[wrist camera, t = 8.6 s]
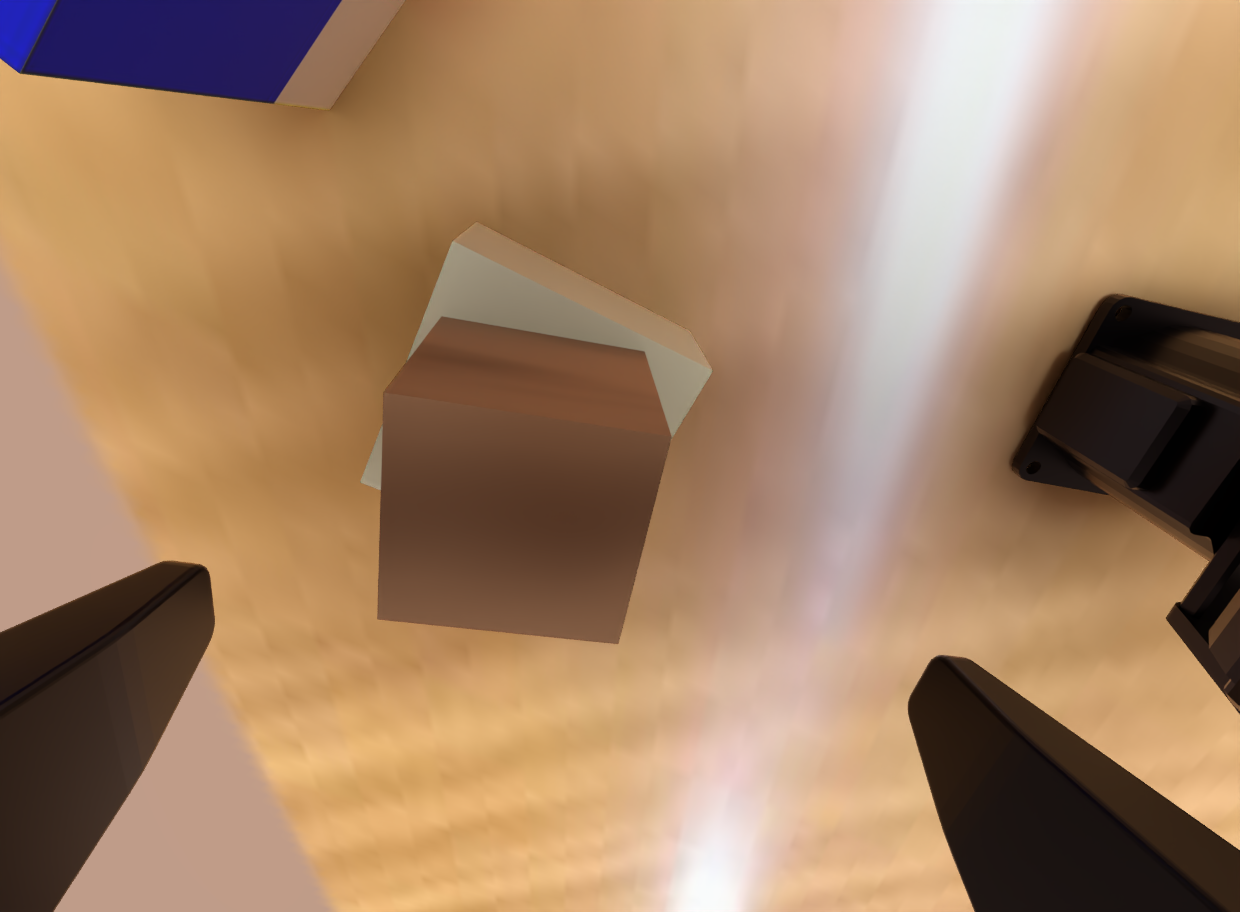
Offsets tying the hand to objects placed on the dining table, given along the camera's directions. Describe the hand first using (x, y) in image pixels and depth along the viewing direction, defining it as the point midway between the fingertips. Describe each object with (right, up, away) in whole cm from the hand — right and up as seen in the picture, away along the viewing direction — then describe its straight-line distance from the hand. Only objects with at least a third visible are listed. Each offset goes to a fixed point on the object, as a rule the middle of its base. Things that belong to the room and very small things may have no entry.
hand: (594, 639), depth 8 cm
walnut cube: (-2, +3, +9) cm, 9 cm away
